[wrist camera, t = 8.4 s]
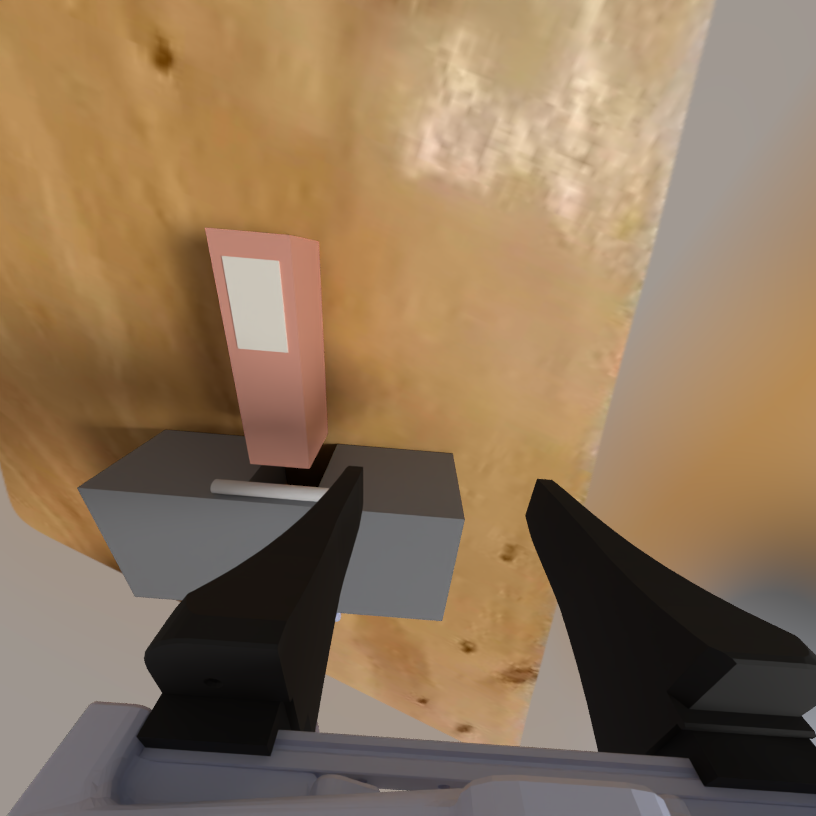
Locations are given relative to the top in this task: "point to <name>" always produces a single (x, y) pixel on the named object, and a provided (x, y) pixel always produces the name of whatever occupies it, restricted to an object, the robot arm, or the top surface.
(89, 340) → the top surface
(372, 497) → the dispenser
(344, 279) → the top surface
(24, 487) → the top surface
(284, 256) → the pink labelled block
